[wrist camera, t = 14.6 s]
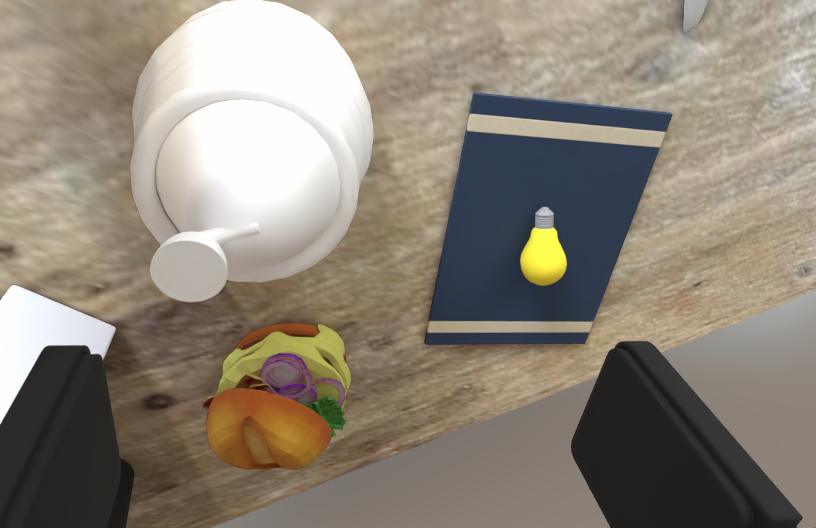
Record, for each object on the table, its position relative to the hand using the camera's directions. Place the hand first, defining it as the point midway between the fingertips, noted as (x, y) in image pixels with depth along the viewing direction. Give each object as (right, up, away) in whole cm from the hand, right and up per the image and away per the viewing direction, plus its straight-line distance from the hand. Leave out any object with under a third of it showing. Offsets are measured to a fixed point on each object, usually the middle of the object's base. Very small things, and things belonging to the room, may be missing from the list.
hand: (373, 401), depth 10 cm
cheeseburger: (-10, -6, +35) cm, 37 cm away
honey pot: (-9, +12, +25) cm, 29 cm away
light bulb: (+11, +5, +33) cm, 35 cm away
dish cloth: (+11, +5, +33) cm, 35 cm away
